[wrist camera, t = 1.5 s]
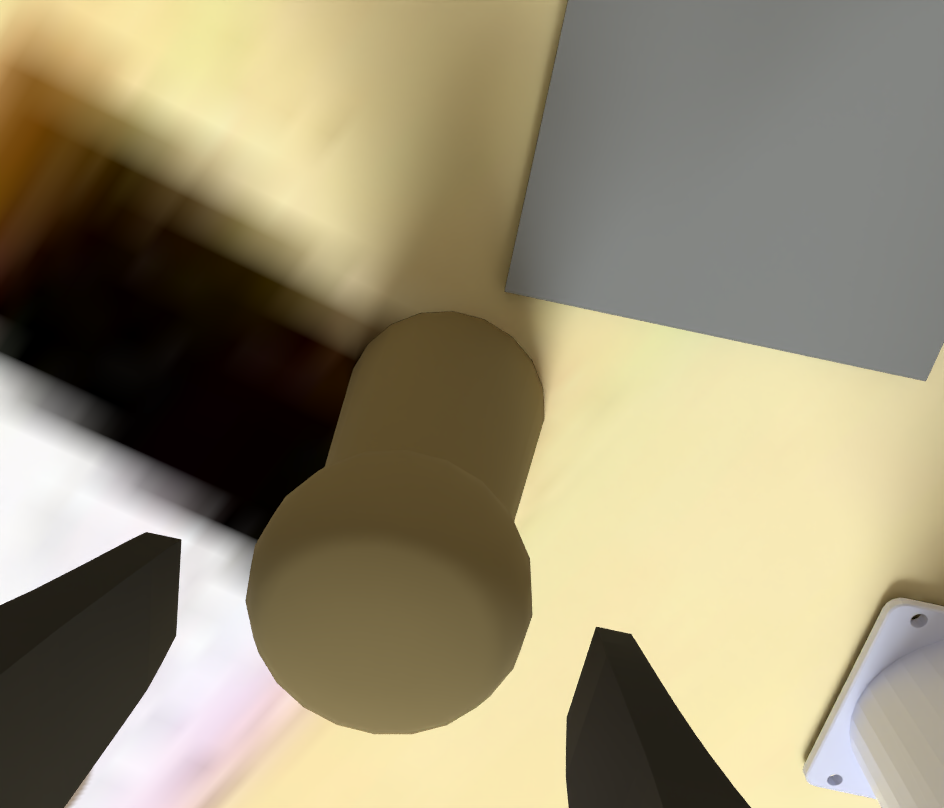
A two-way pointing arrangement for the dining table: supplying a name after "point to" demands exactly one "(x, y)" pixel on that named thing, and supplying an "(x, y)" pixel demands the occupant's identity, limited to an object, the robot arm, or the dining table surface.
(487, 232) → the dining table surface
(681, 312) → the slate mat
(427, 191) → the dining table surface
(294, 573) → the cork
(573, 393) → the dining table surface
